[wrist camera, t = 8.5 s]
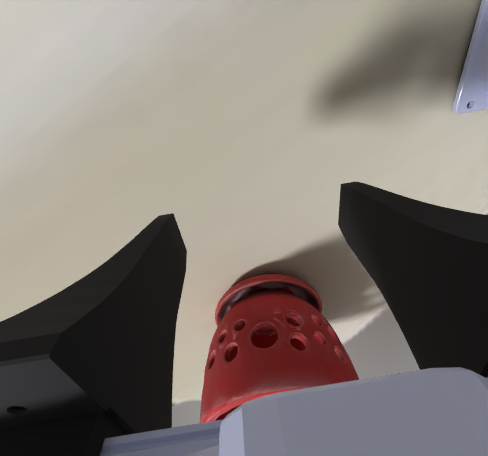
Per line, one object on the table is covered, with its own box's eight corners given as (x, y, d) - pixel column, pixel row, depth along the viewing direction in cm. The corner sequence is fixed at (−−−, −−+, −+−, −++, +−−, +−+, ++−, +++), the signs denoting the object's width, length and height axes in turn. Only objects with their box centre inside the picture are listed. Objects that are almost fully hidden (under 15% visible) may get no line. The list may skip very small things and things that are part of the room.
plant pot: (208, 259, 25) (201, 392, 15) (335, 264, 27) (403, 386, 17) (204, 339, 32) (197, 465, 22) (304, 339, 34) (340, 456, 24)
